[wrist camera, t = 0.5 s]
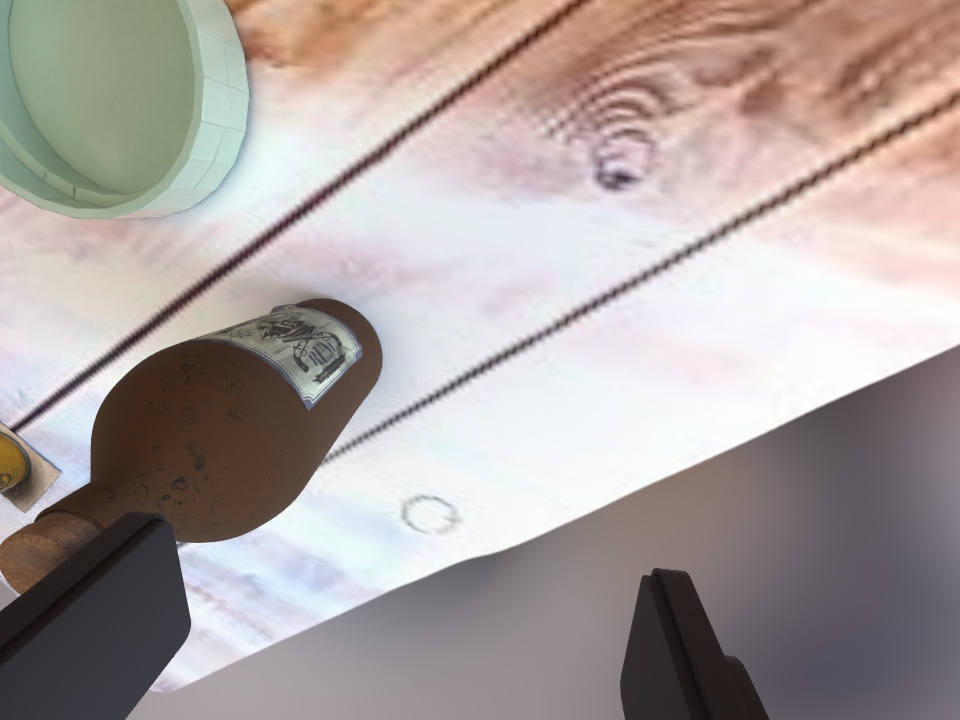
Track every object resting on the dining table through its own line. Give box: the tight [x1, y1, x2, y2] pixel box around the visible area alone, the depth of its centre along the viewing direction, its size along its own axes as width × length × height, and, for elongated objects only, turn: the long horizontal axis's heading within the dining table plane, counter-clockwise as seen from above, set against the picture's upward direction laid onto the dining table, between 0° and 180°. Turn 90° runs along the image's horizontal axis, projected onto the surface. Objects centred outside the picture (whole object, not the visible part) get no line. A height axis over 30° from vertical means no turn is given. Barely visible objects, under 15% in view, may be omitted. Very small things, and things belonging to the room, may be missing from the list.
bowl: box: [0, 0, 249, 219], centre depth 32 cm, size 19×19×6 cm
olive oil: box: [0, 299, 382, 595], centre depth 28 cm, size 11×11×25 cm
